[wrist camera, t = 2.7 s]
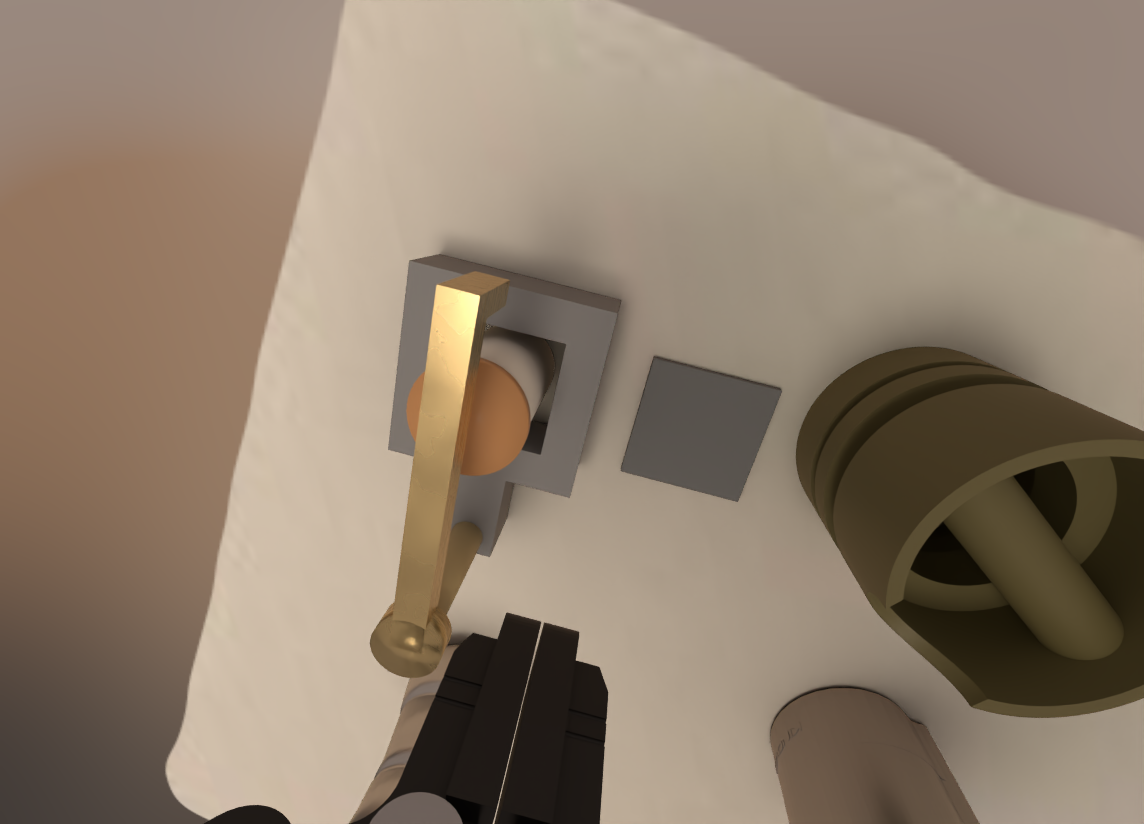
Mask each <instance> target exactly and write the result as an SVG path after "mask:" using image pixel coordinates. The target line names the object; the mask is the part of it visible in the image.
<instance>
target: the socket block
mask: <svg viewBox="0 0 1144 824" xmlns="http://www.w3.org/2000/svg"><path fill="white" fill-rule="evenodd" d="M474 271H477V272H481V273H484V274H488V275H492V276H496V277H500V278H504V279H508V280H510V284H509V290H508V295H507V301H506V306H504V307H503V308H501V309H500V310H499V311H497V312H496V313H494V314H493V315H491V316H490V317H488V318H487V320H486V324H490V325H494V326H497V327H501V328H505V329H509V330H513V331H517V332H521V333H525V334H529V335H533V336H536V337H540V338H544V339H548V340H552V341H556V342H560V343H564V344H566V348H565V352H564V356H563V361H562V365H561V369H560V374H559V378H558V382H557V387H556V391H555V395H554V400H553V404H552V408H551V413H550V417H549V421H548V425H546V424H543V423H539V422H535V421H531V424H530V430H529V434H528V437H527V439H526V442H525V444H524V446H523V448H522V450H521V451H520V453H519V454H518V456H517V457H516V458H515V459H514V460H513V461H512V462H511V463H510V464H509V465H507V466H506V467H504V468H503V469H501V470H499V471H496V472H494V473H491V474H487V475H481V476H468V475H462V474H460V479H459V484H458V490H457V496H456V502H455V508H454V514H453V520H452V525H451V531H450V537H449V543H448V549H447V555H446V561H445V566H444V572H443V578H442V584H441V590H440V596H439V602H438V607H439V608H440V609H441V610H442V611H443V612H444V613H445V614H446V615H447V613H448V611H449V609H450V606H451V604H452V602H453V600H454V598H455V596H456V594H457V592H458V590H459V588H460V586H461V584H462V582H463V580H464V578H465V576H466V573H467V571H468V569H469V567H470V565H471V563H472V561H473V559H474V557H475V555H476V553H477V554H480V555H484V556H488V557H490V556H491V553H492V551H493V549H494V547H495V544H496V542H497V540H498V537H499V535H500V533H501V531H502V528H503V526H504V524H505V522H506V519H507V515H508V510H509V505H510V501H511V496H512V491H513V487H514V483H516V484H519V485H523V486H527V487H531V488H534V489H538V490H542V491H546V492H549V493H553V494H557V495H561V496H565V497H568V498H570V495H571V491H572V487H573V483H574V480H575V476H576V472H577V468H578V464H579V461H580V457H581V453H582V449H583V445H584V441H585V438H586V434H587V430H588V426H589V422H590V419H591V415H592V411H593V407H594V403H595V399H596V396H597V392H598V388H599V384H600V380H601V377H602V373H603V369H604V365H605V361H606V357H607V354H608V350H609V346H610V342H611V338H612V335H613V331H614V327H615V323H616V319H617V315H618V311H619V307H620V303H621V300H618V299H614V298H610V297H607V296H603V295H599V294H595V293H591V292H587V291H583V290H579V289H575V288H571V287H567V286H563V285H559V284H555V283H551V282H547V281H543V280H539V279H535V278H531V277H527V276H523V275H519V274H515V273H511V272H507V271H504V270H500V269H496V268H492V267H488V266H484V265H480V264H476V263H472V262H468V261H464V260H460V259H456V258H452V257H448V256H444V255H440V254H438V255H434V256H429V257H424V258H419V259H415V260H410V261H409V267H408V276H407V285H406V294H405V303H404V312H403V321H402V330H401V339H400V348H399V357H398V366H397V375H396V383H395V392H394V401H393V410H392V419H391V428H390V437H389V446H388V450H391V451H395V452H399V453H403V454H406V455H410V456H414V451H415V444H416V442H415V441H414V439H413V437H412V435H411V432H410V429H409V426H408V421H407V413H406V409H407V400H408V396H409V393H410V390H411V388H412V386H413V384H414V383H415V381H416V380H417V379H418V377H419V376H420V375H421V374H422V373H423V372H425V368H426V361H427V353H428V345H429V338H430V330H431V323H432V315H433V308H434V300H435V293H436V285H437V284H440V283H442V282H445V281H448V280H451V279H454V278H457V277H459V276H462V275H465V274H468V273H471V272H474Z"/></svg>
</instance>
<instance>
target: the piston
mask: <svg viewBox="0 0 1144 824" xmlns="http://www.w3.org/2000/svg"><path fill="white" fill-rule="evenodd" d="M796 464H797V471H798V475H799V479H800V482H801V484H802V487H803V489H804V491H805V492H806V494H807V496H808V498H809V499H810V501H811V503H812V505H813V506H814V508H815V510H816V511H817V513H818V515H819V517H820V518H821V520H822V522H823V523H824V525H825V527H826V529H827V530H828V532H829V534H830V535H831V537H832V539H833V541H834V542H835V544H836V546H837V547H838V549H839V550H840V552H841V554H842V556H843V558H844V559H845V561H846V563H847V565H848V566H849V568H850V570H851V571H852V573H853V575H854V577H855V578H856V580H857V582H858V584H859V585H860V587H861V589H862V590H863V592H864V594H865V596H866V597H867V599H868V601H869V602H870V604H871V606H872V607H873V609H874V610H875V611H876V612H877V614H878V615H879V616H880V617H881V618H882V619H883V620H884V621H885V622H886V623H887V624H888V625H889V626H890V627H891V628H892V629H893V630H894V631H895V632H896V633H897V634H898V635H899V636H900V637H901V638H903V639H904V640H905V641H906V642H907V643H908V644H909V645H910V646H911V647H913V648H914V649H915V650H916V651H917V652H918V653H919V654H921V655H922V656H923V657H924V658H925V659H926V660H927V661H928V662H930V663H931V664H932V665H933V666H934V667H935V668H936V669H937V670H938V671H939V672H941V673H942V674H943V675H944V676H945V677H946V678H947V679H948V680H949V681H950V682H951V683H952V684H953V685H954V686H955V688H956V689H957V690H958V691H959V692H960V693H961V694H962V696H963V697H964V698H965V699H966V701H967V702H968V703H969V705H970V706H971V707H973V708H977V709H980V710H984V711H988V712H992V713H997V714H1002V715H1009V716H1017V717H1031V718H1051V717H1067V716H1075V715H1082V714H1089V713H1094V712H1099V711H1103V710H1107V709H1111V708H1115V707H1118V706H1122V705H1125V704H1128V703H1131V702H1134V701H1137V700H1139V699H1142V698H1144V431H1142V430H1139V429H1137V428H1135V427H1132V426H1130V425H1128V424H1126V423H1123V422H1121V421H1119V420H1116V419H1114V418H1112V417H1110V416H1107V415H1105V414H1103V413H1100V412H1098V411H1096V410H1094V409H1091V408H1089V407H1087V406H1084V405H1082V404H1080V403H1078V402H1075V401H1073V400H1071V399H1068V398H1066V397H1064V396H1061V395H1059V394H1057V393H1054V392H1051V391H1049V390H1047V389H1045V388H1043V387H1041V386H1039V385H1036V384H1034V383H1032V382H1029V381H1027V380H1025V379H1023V378H1020V377H1018V376H1016V375H1014V374H1011V373H1009V372H1007V371H1004V370H1002V369H1000V368H998V367H995V366H993V365H991V364H988V363H986V362H984V361H982V360H979V359H977V358H975V357H972V356H970V355H968V354H965V353H962V352H959V351H955V350H951V349H946V348H938V347H912V348H904V349H898V350H894V351H890V352H886V353H883V354H880V355H877V356H875V357H872V358H870V359H867V360H865V361H863V362H861V363H859V364H857V365H856V366H854V367H852V368H851V369H849V370H847V371H846V372H845V373H843V374H842V375H840V376H839V377H838V378H837V379H835V380H834V381H833V382H832V383H831V384H830V385H829V386H828V387H827V388H826V389H825V390H824V391H823V392H822V393H821V394H820V395H819V397H818V398H817V399H816V401H815V402H814V403H813V405H812V406H811V408H810V410H809V411H808V413H807V415H806V417H805V419H804V421H803V424H802V426H801V429H800V432H799V436H798V441H797V448H796Z"/></svg>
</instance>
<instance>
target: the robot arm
mask: <svg viewBox="0 0 1144 824" xmlns="http://www.w3.org/2000/svg"><path fill="white" fill-rule="evenodd" d="M540 625H541V622H540V621H537V620H533V619H529V618H526V617H522V616H518V615H514V614H511V613H506V616H505V618H504V621H503V624H502V627H501V630H500V633H499V636H498V639H494V638H490V637H486V636H483V635H479V634H475V633H472V634H471V635H470V636H469V637H468V638H467V639H466V640H465V641H464V642H463V643H462V644H461V645H460V646H459V647H457V648H456V649H455V650H454V652H453V655H452V657H451V659H450V662H449V664H448V666H447V669H446V671H445V673H444V677H443V679H442V681H441V683H440V685H439V688H438V690H437V692H436V695H435V698H434V700H433V702H432V704H431V707H430V709H429V711H428V714H427V716H426V719H425V721H424V723H423V726H422V728H421V730H420V733H419V735H418V738H417V740H416V742H415V745H414V747H413V749H412V752H411V754H410V757H409V759H408V761H407V764H406V766H405V768H404V771H403V773H402V775H401V778H400V780H399V782H398V784H397V786H396V788H395V789H394V791H393V792H392V794H391V795H390V796H389V797H388V799H387V800H386V801H385V802H384V803H383V804H382V805H381V806H380V807H378V808H377V809H376V810H375V811H373V812H372V813H370V814H369V815H367V816H366V817H364V818H362V819H360V820H358V821H356V822H353V823H350V824H493V820H494V817H495V813H496V809H497V805H498V801H499V797H500V792H501V788H502V784H503V780H504V776H505V772H506V767H507V763H508V759H509V755H510V751H511V746H512V742H513V738H514V734H515V730H516V726H517V721H518V717H519V713H520V709H521V705H522V701H523V696H524V692H525V688H526V684H527V680H528V675H529V671H530V667H531V663H532V659H533V655H534V650H535V646H536V642H537V638H538V634H539V630H540ZM578 640H579V632H578V631H574V630H571V629H567V628H563V627H560V626H556V625H552V624H548V623H545V622H544V625H543V629H542V633H541V636H540V640H539V644H538V648H537V651H536V655H535V659H534V663H533V666H532V670H531V674H530V678H529V681H528V685H527V689H526V693H525V697H524V701H523V705H522V710H521V714H520V718H519V722H518V726H517V731H516V735H515V739H514V743H513V747H512V752H511V756H510V760H509V764H508V769H507V773H506V777H505V781H504V785H503V790H502V794H501V798H500V802H499V807H498V811H497V815H496V819H495V823H494V824H600V810H601V795H602V779H603V764H604V749H605V747H604V743H605V734H606V719H607V703H608V690H607V687H606V685H605V682H604V679H603V676H602V673H601V670H600V668H599V667H598V666H594V665H590V664H587V663H583V662H579V661H576V654H577V647H578ZM770 743H771V747H772V751H773V755H774V760H775V768H776V772H777V774H778V777H779V781H780V785H781V790H782V794H783V798H784V803H785V807H786V812H787V816H788V820H789V824H980V823H979V822H978V820H977V818H976V816H975V814H974V813H973V811H972V809H971V807H970V805H969V804H968V802H967V800H966V798H965V796H964V794H963V793H962V791H961V789H960V787H959V785H958V784H957V782H956V780H955V778H954V776H953V775H952V773H951V771H950V769H949V767H948V765H947V764H946V762H945V760H944V758H943V756H942V755H941V753H940V751H939V749H938V747H937V746H936V744H935V742H934V740H933V738H932V736H931V735H930V733H929V731H928V729H927V727H926V726H925V725H922V724H918V723H915V722H913V721H911V720H910V719H909V718H908V717H907V715H906V714H905V713H904V712H903V711H902V709H901V708H900V707H898V706H897V705H896V704H894V703H893V702H892V701H890V700H889V699H887V698H885V697H883V696H880V695H878V694H876V693H872V692H869V691H865V690H861V689H852V688H831V689H826V690H821V691H816V692H813V693H810V694H807V695H805V696H802V697H800V698H799V699H797V700H795V701H793V702H792V703H790V704H789V705H788V706H787V707H786V708H785V709H783V710H782V711H781V712H780V714H779V715H778V717H777V718H776V719H775V721H774V723H773V726H772V729H771V734H770ZM204 824H290V822H289V820H288V819H287V818H286V817H285V816H284V815H283V814H282V813H281V812H279V811H277V810H276V809H273V808H270V807H268V806H261V805H248V806H243V807H238V808H235V809H232V810H229V811H227V812H225V813H223V814H221V815H218V816H216V817H215V818H213V819H211V820H209V821H208V822H206V823H204Z"/></svg>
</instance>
